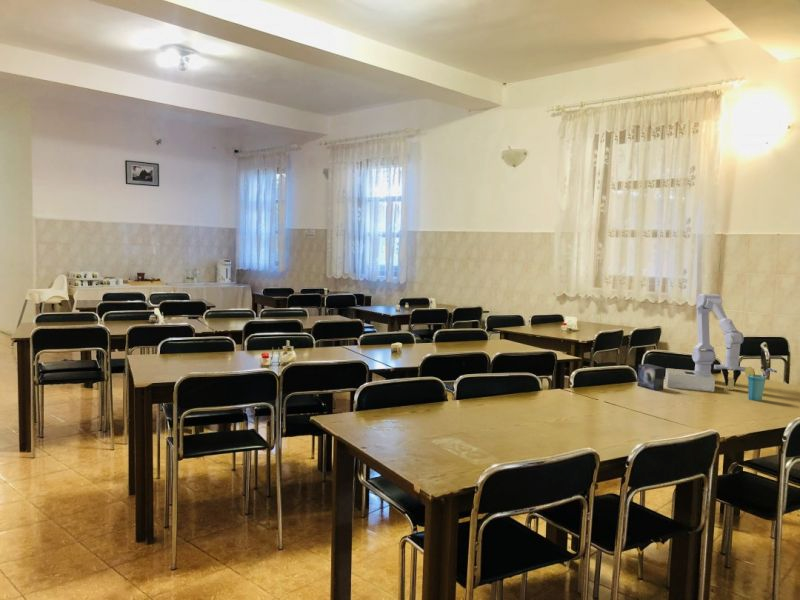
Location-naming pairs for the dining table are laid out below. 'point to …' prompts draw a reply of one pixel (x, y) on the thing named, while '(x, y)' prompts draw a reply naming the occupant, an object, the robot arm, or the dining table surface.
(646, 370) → the small box
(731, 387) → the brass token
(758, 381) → the cup
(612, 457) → the dining table surface
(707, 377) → the cash box
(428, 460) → the dining table surface
